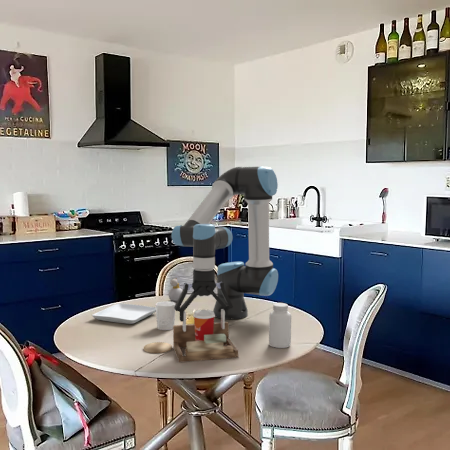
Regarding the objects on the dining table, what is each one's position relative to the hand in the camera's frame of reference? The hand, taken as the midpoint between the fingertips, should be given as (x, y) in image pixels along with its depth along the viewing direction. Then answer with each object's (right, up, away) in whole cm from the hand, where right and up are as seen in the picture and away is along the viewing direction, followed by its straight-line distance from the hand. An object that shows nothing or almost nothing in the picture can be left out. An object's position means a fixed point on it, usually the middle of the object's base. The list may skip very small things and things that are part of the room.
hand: (203, 329), depth 179 cm
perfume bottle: (-16, -1, +70) cm, 72 cm away
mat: (-16, -8, +4) cm, 18 cm away
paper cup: (0, -8, +1) cm, 8 cm away
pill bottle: (+27, -7, +8) cm, 29 cm away
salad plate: (-35, -4, +43) cm, 56 cm away
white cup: (-16, -5, +28) cm, 33 cm away
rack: (0, -8, 0) cm, 8 cm away
